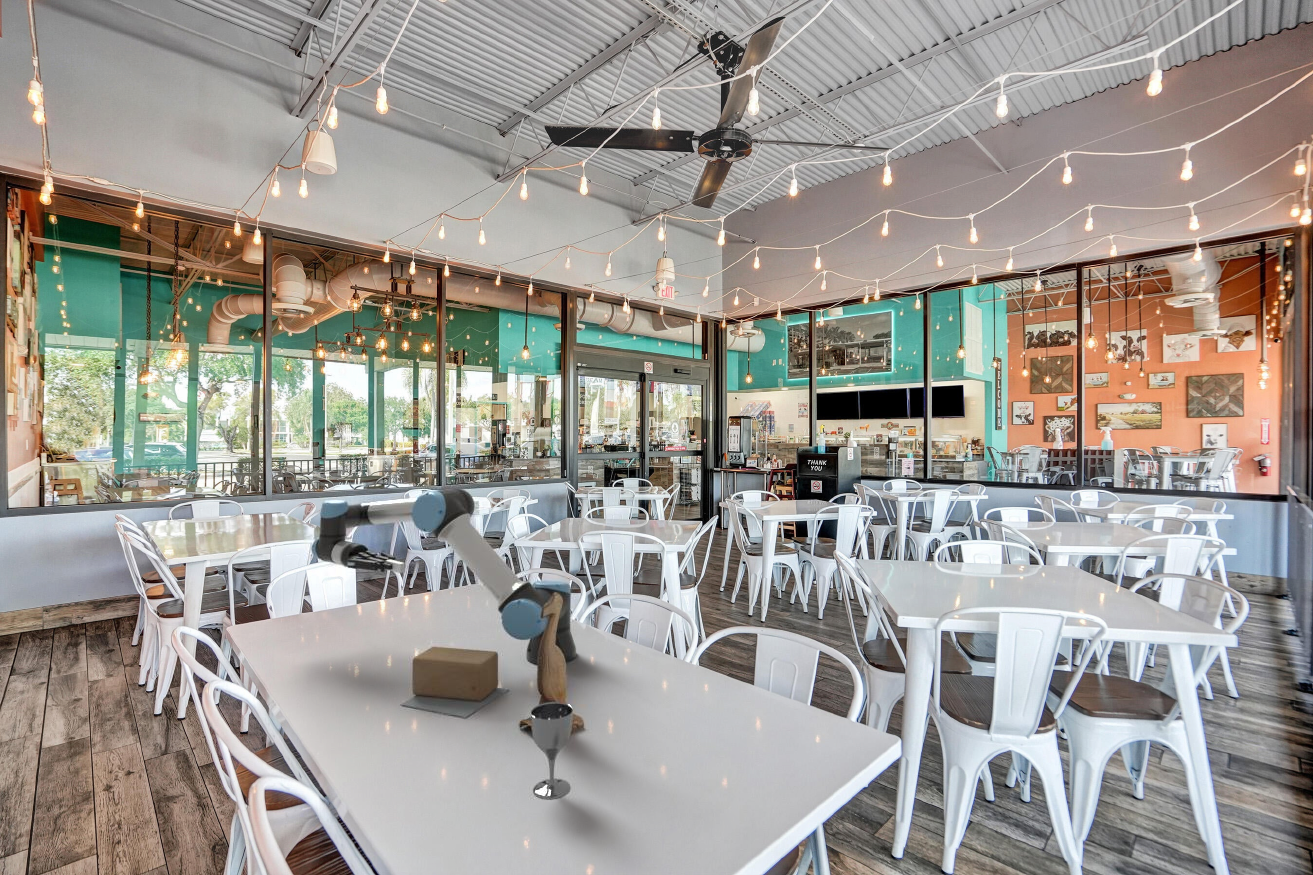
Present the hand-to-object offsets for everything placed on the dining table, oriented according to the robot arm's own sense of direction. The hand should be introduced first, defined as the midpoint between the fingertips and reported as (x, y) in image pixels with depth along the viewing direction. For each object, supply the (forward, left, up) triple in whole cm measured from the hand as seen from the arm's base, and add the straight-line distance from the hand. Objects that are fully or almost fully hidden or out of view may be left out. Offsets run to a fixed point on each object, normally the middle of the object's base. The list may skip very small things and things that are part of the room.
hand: (402, 568), depth 185 cm
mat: (-29, +12, -29) cm, 43 cm away
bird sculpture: (-61, +18, -29) cm, 70 cm away
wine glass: (-74, +40, -29) cm, 89 cm away
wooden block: (-17, +11, -24) cm, 31 cm away
